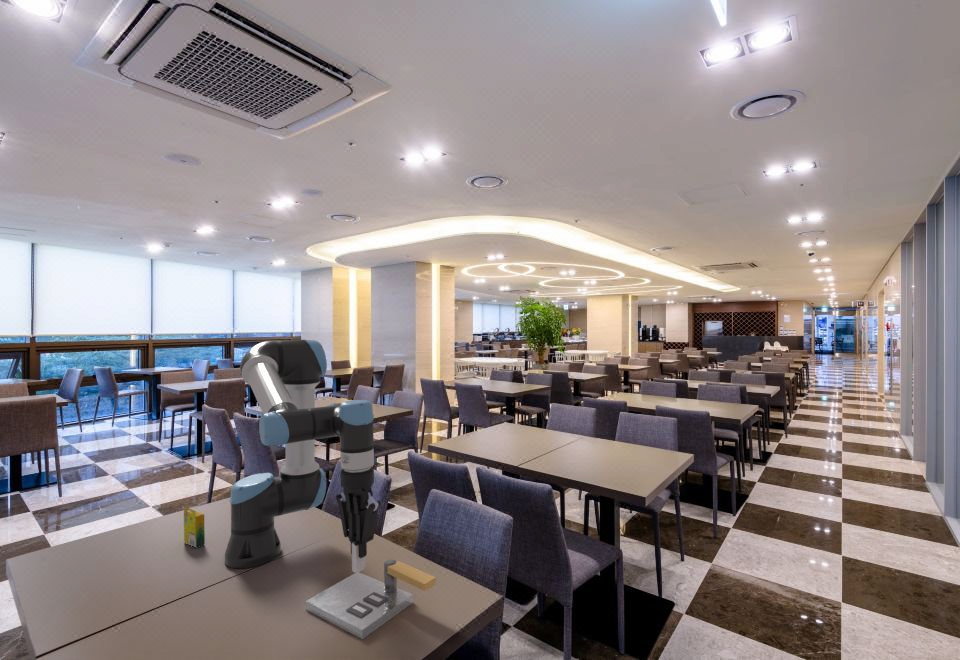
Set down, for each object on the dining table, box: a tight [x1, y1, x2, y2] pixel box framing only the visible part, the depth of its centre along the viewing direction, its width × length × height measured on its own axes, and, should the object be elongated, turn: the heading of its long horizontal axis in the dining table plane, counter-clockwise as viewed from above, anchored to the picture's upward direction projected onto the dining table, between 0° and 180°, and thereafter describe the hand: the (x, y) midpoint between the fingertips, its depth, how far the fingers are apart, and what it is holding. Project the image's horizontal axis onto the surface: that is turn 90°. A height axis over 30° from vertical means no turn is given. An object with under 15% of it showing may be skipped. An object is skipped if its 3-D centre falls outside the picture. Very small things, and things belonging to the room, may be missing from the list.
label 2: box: [363, 592, 388, 607], centre depth 110 cm, size 5×4×1 cm
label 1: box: [346, 602, 373, 618], centre depth 106 cm, size 5×4×1 cm
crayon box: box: [183, 506, 206, 548], centre depth 146 cm, size 7×3×12 cm, turn 58°
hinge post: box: [383, 571, 398, 593], centre depth 114 cm, size 3×3×7 cm
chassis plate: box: [304, 572, 414, 640], centre depth 111 cm, size 20×16×2 cm
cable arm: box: [383, 559, 437, 592], centre depth 110 cm, size 16×4×2 cm, turn 51°
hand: (358, 569), depth 106 cm, fingers closed
